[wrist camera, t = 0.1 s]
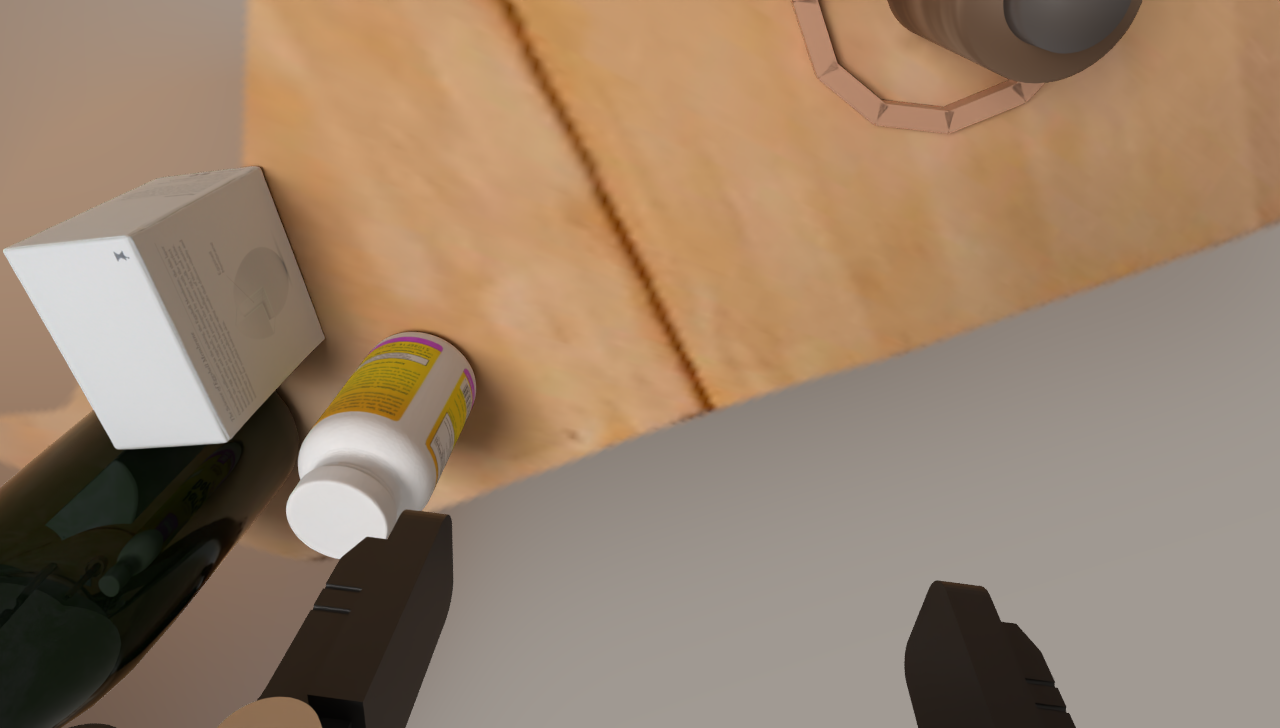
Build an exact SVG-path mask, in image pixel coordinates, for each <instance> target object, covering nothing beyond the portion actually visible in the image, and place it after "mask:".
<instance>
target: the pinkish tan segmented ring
mask: <svg viewBox="0 0 1280 728" xmlns="http://www.w3.org/2000/svg"><path fill="white" fill-rule="evenodd" d="M791 3H792V6H793V9H794V12H795V15H796V18H797V21H798V24H799V27H800V30H801V33H802V36H803V40H804V43H805V46H806V49H807V52H808V55H809V58H810V61H811V64H812V67H813V70H814V73H815V75H816V77H817V78H818V79H819V80H820V81H821V82H823V83H824V84H825V85H826V86H827V87H829V88H830V89H831V90H832V91H833V92H835V93H836V94H837V95H838V96H840V97H841V98H842V99H843V100H844V101H846V102H847V103H848V104H849V105H850V106H852V107H853V108H854V109H855V110H857V111H858V112H859V113H860V114H861V115H863V116H864V117H865V118H866V119H867V120H869V121H870V122H871V123H872V124H875V125H877V126H886V127H894V128H903V129H911V130H920V131H928V132H937V133H946V134H948V133H952V132H955V131H957V130H960V129H962V128H965V127H967V126H970V125H972V124H975V123H977V122H980V121H982V120H985V119H987V118H990V117H992V116H995V115H997V114H1000V113H1002V112H1005V111H1007V110H1010V109H1012V108H1015V107H1017V106H1020V105H1022V104H1025V101H1026V102H1027V101H1028V100H1029V99H1030V98H1031V97H1032V96H1033V95H1034V94H1035V93H1036V92H1037V91H1038V90H1039V89H1040V88H1041V87H1042V86H1043V85H1044V84H1045V83H1023V82H1018V81H1014V80H1011V79H1009V80H1008V81H1005V82H1003V83H1001V84H998V85H996V86H993V87H991V88H988V89H986V90H983V91H981V92H979V93H976V94H974V95H971V96H969V97H966V98H964V99H961V100H959V101H957V102H954V103H952V104H949V105H947V106H944V107H940V106H932V105H923V104H914V103H906V102H897V101H888V100H881V99H880V98H879V97H877V96H876V95H875V94H874V93H873V92H871V91H870V90H869V89H868V88H867V87H865V86H864V85H863V84H862V83H861V82H859V81H858V80H857V79H856V78H855V77H853V76H852V75H851V74H850V73H849V72H847V71H846V70H845V69H844V68H843V67H842V66H840V65H839V64H838V63H837V60H836V57H835V54H834V51H833V48H832V44H831V41H830V38H829V35H828V32H827V28H826V25H825V22H824V19H823V16H822V13H821V9H820V6H819V3H818V0H792V1H791Z"/></svg>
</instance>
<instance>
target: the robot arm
mask: <svg viewBox="0 0 1280 728" xmlns="http://www.w3.org/2000/svg"><path fill="white" fill-rule="evenodd" d="M452 550H453V549H452V521H451V517H450V516H449V515H446V514H439V513H431V512H423V511H416V510H408V509H406V510H404V511H403V512H402V513H401V514H400V516H399V518H398V520H397V522H396V524H395V526H394V528H393V530H392V532H391V533H390V535H389V537H388V539H382V538H374V537H366V538H364V539H363V540H362V541H361V542H359V543H358V544H357V545H356V546H355V547H353V548H352V549H351V550H350V551H348V552H347V553H346V554H345V555H344V556H342V557H341V559H340V560H339V562H338V564H337V565H336V567H335V569H334V571H333V572H332V574H331V576H330V578H329V579H328V581H327V583H326V587H325V589H323V590H322V592H321V593H320V595H319V597H318V598H317V600H316V602H315V604H314V608H313V610H311V611H310V612H309V614H308V616H307V618H306V619H305V621H304V623H303V625H302V626H301V628H300V630H299V631H298V633H297V635H296V637H295V638H294V640H293V642H292V643H291V645H290V647H289V649H288V651H287V652H286V654H285V656H284V657H283V659H282V661H281V663H280V664H279V666H278V668H277V670H276V671H275V673H274V675H273V677H272V678H271V680H270V682H269V683H268V685H267V687H266V689H265V690H264V691H263V693H262V695H261V696H260V697H259V698H258V700H257V701H255V702H252V703H250V704H248V705H246V706H243V707H242V708H240V709H238V710H237V711H235V712H233V713H232V714H231V715H230V716H228V717H227V718H226V719H225V720H224V721H223V722H222V723H221V724H220V725H219V726H218V727H217V728H405V727H406V725H407V722H408V719H409V717H410V714H411V711H412V709H413V706H414V703H415V701H416V698H417V695H418V692H419V690H420V687H421V684H422V682H423V679H424V677H425V674H426V671H427V669H428V666H429V663H430V660H431V658H432V655H433V653H434V650H435V647H436V645H437V642H438V639H439V637H440V634H441V631H442V629H443V626H444V623H445V620H446V618H447V614H448V611H449V606H450V602H451V597H452V590H453V551H452ZM905 678H906V683H907V687H908V690H909V694H910V698H911V702H912V705H913V710H914V713H915V717H916V721H917V725H918V728H1076V727H1075V725H1074V723H1073V720H1072V718H1071V716H1070V714H1069V713H1066V705H1065V703H1064V701H1063V699H1062V696H1061V694H1060V692H1059V690H1058V688H1055V686H1054V683H1055V681H1054V679H1053V677H1052V675H1051V672H1050V671H1049V668H1048V666H1047V664H1046V662H1045V659H1044V657H1043V655H1042V653H1041V651H1040V650H1039V649H1038V648H1037V647H1036V646H1035V644H1034V643H1033V642H1032V641H1031V640H1030V639H1029V638H1028V637H1027V635H1026V634H1025V633H1024V632H1023V631H1022V630H1021V629H1020V628H1019V627H1018V625H1017V624H1014V623H1005V622H1001V620H1000V618H999V616H998V613H997V611H996V609H995V606H994V604H993V601H992V600H991V597H990V595H989V593H988V591H987V590H986V589H985V588H984V587H982V586H975V585H968V584H960V583H952V582H944V581H934V582H933V583H932V584H931V586H930V588H929V590H928V593H927V595H926V598H925V600H924V602H923V605H922V608H921V610H920V612H919V615H918V617H917V620H916V622H915V625H914V627H913V630H912V632H911V635H910V637H909V640H908V642H907V646H906V651H905ZM70 728H116V727H113V726H110V725H105V724H84V725H78V726H74V727H70Z"/></svg>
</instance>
